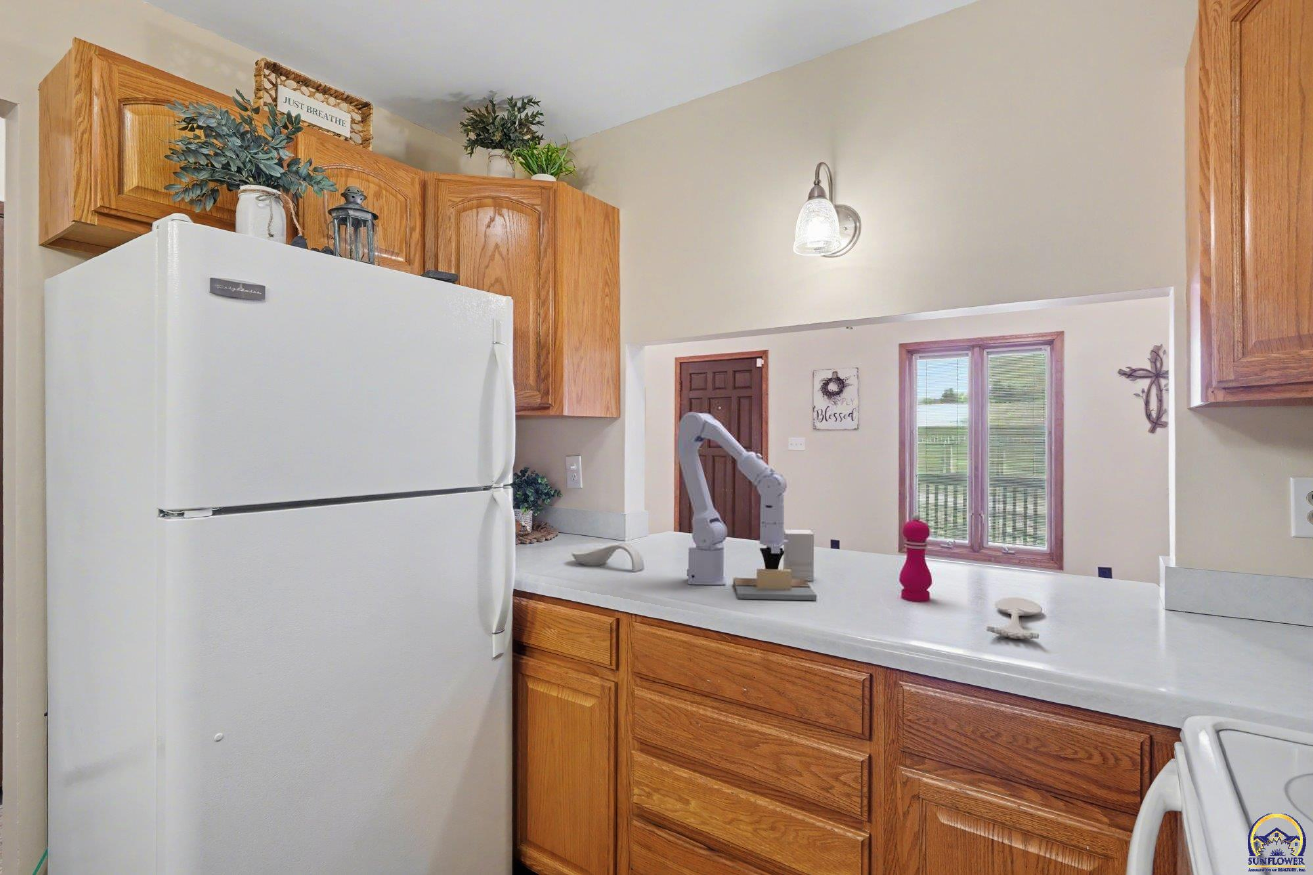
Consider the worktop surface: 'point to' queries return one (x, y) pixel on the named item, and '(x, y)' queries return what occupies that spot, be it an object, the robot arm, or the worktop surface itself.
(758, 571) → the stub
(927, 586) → the pepper mill
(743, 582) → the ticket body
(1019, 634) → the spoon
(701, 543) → the robot arm
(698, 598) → the worktop surface
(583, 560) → the spoon rest
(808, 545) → the supplement box
